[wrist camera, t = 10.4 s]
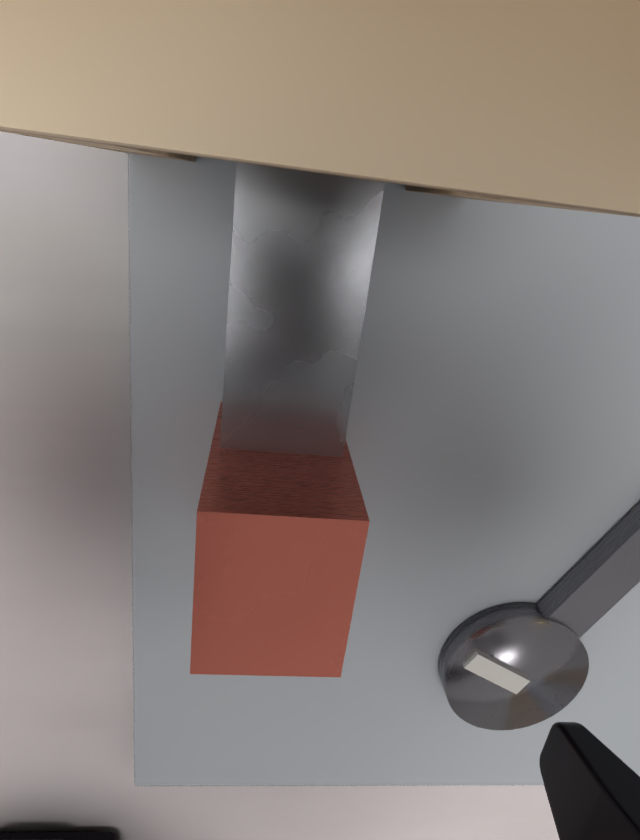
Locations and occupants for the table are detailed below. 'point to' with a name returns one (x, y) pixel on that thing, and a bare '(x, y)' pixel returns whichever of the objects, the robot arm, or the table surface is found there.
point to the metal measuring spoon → (537, 640)
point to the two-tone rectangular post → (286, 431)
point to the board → (394, 481)
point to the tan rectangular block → (346, 89)
